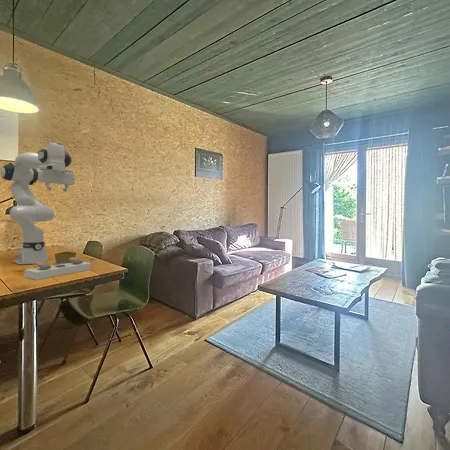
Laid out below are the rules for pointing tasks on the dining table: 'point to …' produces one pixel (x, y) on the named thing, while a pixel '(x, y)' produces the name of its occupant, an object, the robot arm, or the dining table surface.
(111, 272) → the dining table surface
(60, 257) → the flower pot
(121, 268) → the dining table surface
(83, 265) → the power strip
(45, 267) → the rocker near
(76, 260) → the rocker far
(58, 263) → the rocker middle
